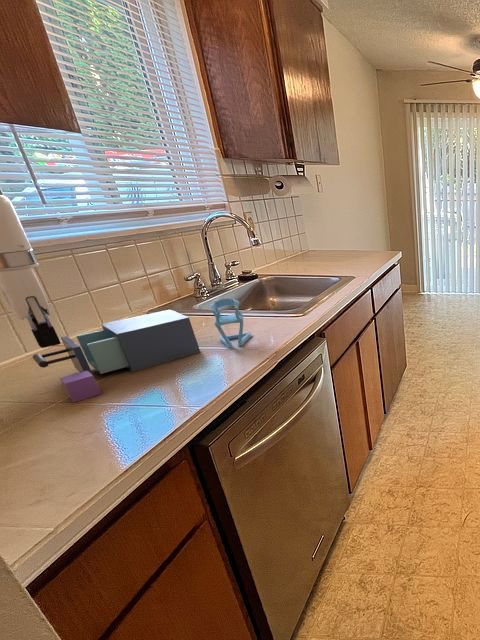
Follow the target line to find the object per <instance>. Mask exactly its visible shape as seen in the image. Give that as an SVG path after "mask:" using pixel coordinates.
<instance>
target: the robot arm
mask: <svg viewBox="0 0 480 640" xmlns="http://www.w3.org/2000/svg"><path fill="white" fill-rule="evenodd" d="M36 256H37V255H36V254H35V252H34V249H33V247H32V245H31V243H30V241H29V239H28V236H27V233H26V232H25V230H24V227H23V225H22V223H21V221H20V219H19V216H18V214H17V211H16V210H15V207H14V205H13V203H12V202H11V200H10V199H9V198H8V197H7V196H5V195H3V194H0V289H1V292H2V293H3V296H4V298H5V300H6V301H7V304H8V306H9V307H10V310H11V313H12V314H13V315H14V316H15V317H16V318H17V319H18V320H21V321H24V320H25V318H26V320H27V322H28V324H29V326H30V328H31V329H30V331H31V333H32V334H33V337H34V339H35V341H36V342H37V343H36V344H37V345H38V346H39V348H42V349H44V348H50V347H53V346H59V345H61V343H62V342H61V340H60V338H59V336H58V334H57V332H56V329H55V327H54V326H53V325H52V323H51V321H50V319H49V317H48V316H50V315H52V310H51V307H50V304H49V301H48V300H47V297H46V294H45V292H44V289H43V287H42V285H41V283H40V281H39V279H38V276H37V274H36V272H35V270H34V268H36V267H40V263H39V261H38V259H37V257H36Z"/></svg>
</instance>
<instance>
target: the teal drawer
mask: <svg viewBox="0 0 480 640" xmlns="http://www.w3.org/2000/svg"><path fill="white" fill-rule="evenodd" d="M75 337H76V339H77V340H78V343H77V342H76V341H74V340H73V339H72V338H70V337H69V336H68V335H65V336H61V337H60V339H61V340H60V341H62V342H61V343H63V347H64V349H60V350H57V351H56V350H55V351H52V352H51V351H50V352H48V353H43V354H40V353H35V354H33V355H32V359H33V361H34V362H35V363H36V364H37V365H38V366H39V367H40V368H43V369H44V368H47V367H49V365H51V364H55V363H59V362H60V363H61V362H63V361H67V360H71V362H72V364H73V366H74V369H75V370H77V372H78V373H80V372H84V371H88V372H90V373H91V374H92V375H93V376H94V379H96V378H95V375H94V374H93V372H92V368H93V369H95V370H96V371H97V372H98V374H100V375H103V374H106V373H110V372H113V371H117V370H120V369H123V368H127V366H129V364H128V361H127V359H126V357H125V354H124V352H123V349H122V347H121V345H120V342H119V340H118V337H117V336H115V335H114V334H112V333H111V332H109V331H108V330H106V329H104V330H103V329H100V330H95V331H91V332H86V333H82V334H77V335H75ZM65 353H67V355H66V356H62V357H59V358H55V359H50V360H47V359H45V358H49V357H52V356H57V355H61V354H65ZM90 366H91V367H92V368H91V367H90Z"/></svg>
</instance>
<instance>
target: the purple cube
mask: <svg viewBox="0 0 480 640" xmlns="http://www.w3.org/2000/svg"><path fill="white" fill-rule="evenodd" d="M93 375H94V374H93ZM93 375H92V374H91V373H90V372H88V371H84V372H77V373H73V374H70V375H65V376H63V377H59V380H60V382H61V383H62V385H63V388H64V390H65V392H66V394H67V396H68V397H69V399H71V401H72V402H73V403H77V402H80V401H84V400H86V399H89V398H90V399H91V398H93V397H96V396H99V395H102V391H101V390H100V387H99V385H98V383H97V380H96V378H94V377H95V375H94V376H93Z"/></svg>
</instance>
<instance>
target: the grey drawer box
mask: <svg viewBox="0 0 480 640" xmlns="http://www.w3.org/2000/svg"><path fill="white" fill-rule="evenodd" d="M101 327H102V330H104V329H106V330H108V331H109V332H111V333H112V334H114V335H115V336H117V337H118V340H119V342H120V345H121V347H122V349H123V352H124V354H125V357H126V359H127V361H128V364H129V366H127V367H126V368H127V369H128V370H130V371H131V372H137V371H140V370H145V369H147V368H150V367H154V366H158V365H161V364H164V363H167V362H170V361H174V360H178V359H181V358H185V357H189V356H191V355H195V354H198V353H200V352H201V350H200V346H199V344H198V340H197V337H196V333H195V332H194V328H193V326H192V323H191V319H190V317H189V316H187V315H184V314H182V313H181V312H177V311H175V310H172V309H169V308H168V309H166V310H160V311H155V312H152V313H146V314H142V315H136V316H133V317H128V318H124V319H117V320H114V321H109V322H104V323H101Z"/></svg>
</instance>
